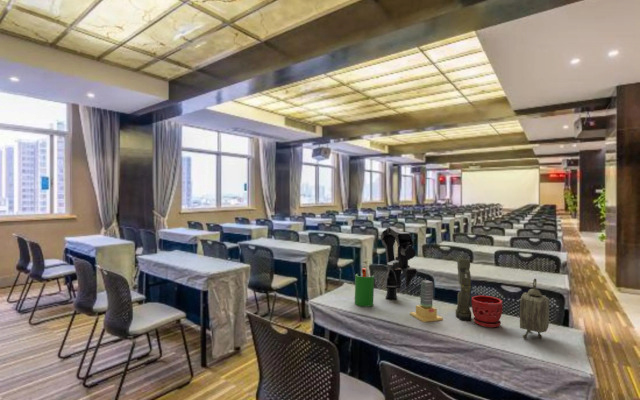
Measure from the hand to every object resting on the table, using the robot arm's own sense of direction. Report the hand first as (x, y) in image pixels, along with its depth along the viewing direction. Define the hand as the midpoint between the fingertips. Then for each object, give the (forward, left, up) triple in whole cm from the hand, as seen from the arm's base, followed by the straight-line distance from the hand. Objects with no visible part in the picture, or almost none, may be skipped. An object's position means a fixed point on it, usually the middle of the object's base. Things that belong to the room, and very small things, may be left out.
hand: (402, 284), depth 183 cm
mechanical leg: (+6, +30, -12) cm, 33 cm away
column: (+13, +12, -6) cm, 19 cm away
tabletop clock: (+24, +56, -12) cm, 62 cm away
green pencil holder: (+2, -20, -12) cm, 24 cm away
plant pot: (+14, +39, -12) cm, 43 cm away
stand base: (+13, +12, -12) cm, 21 cm away
